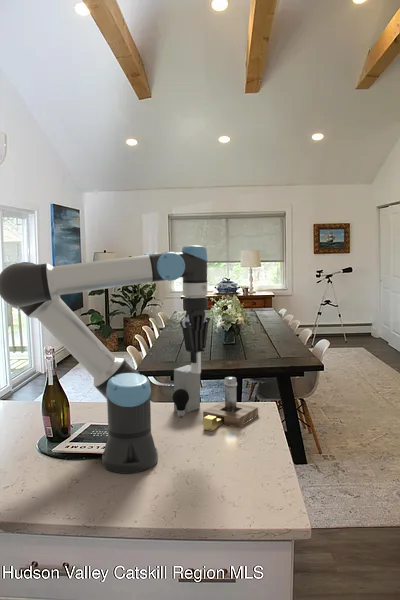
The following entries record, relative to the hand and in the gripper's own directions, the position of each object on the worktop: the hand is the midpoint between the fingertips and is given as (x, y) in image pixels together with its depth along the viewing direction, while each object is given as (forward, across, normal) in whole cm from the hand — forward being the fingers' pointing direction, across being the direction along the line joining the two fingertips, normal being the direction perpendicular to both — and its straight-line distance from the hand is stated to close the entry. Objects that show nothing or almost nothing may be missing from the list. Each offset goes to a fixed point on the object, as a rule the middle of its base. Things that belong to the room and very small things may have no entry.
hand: (196, 372), depth 147 cm
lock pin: (+20, +12, 0) cm, 24 cm away
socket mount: (+20, +21, 0) cm, 29 cm away
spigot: (+20, +21, 0) cm, 29 cm away
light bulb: (+21, +12, +15) cm, 28 cm away
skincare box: (+21, +20, +18) cm, 34 cm away
